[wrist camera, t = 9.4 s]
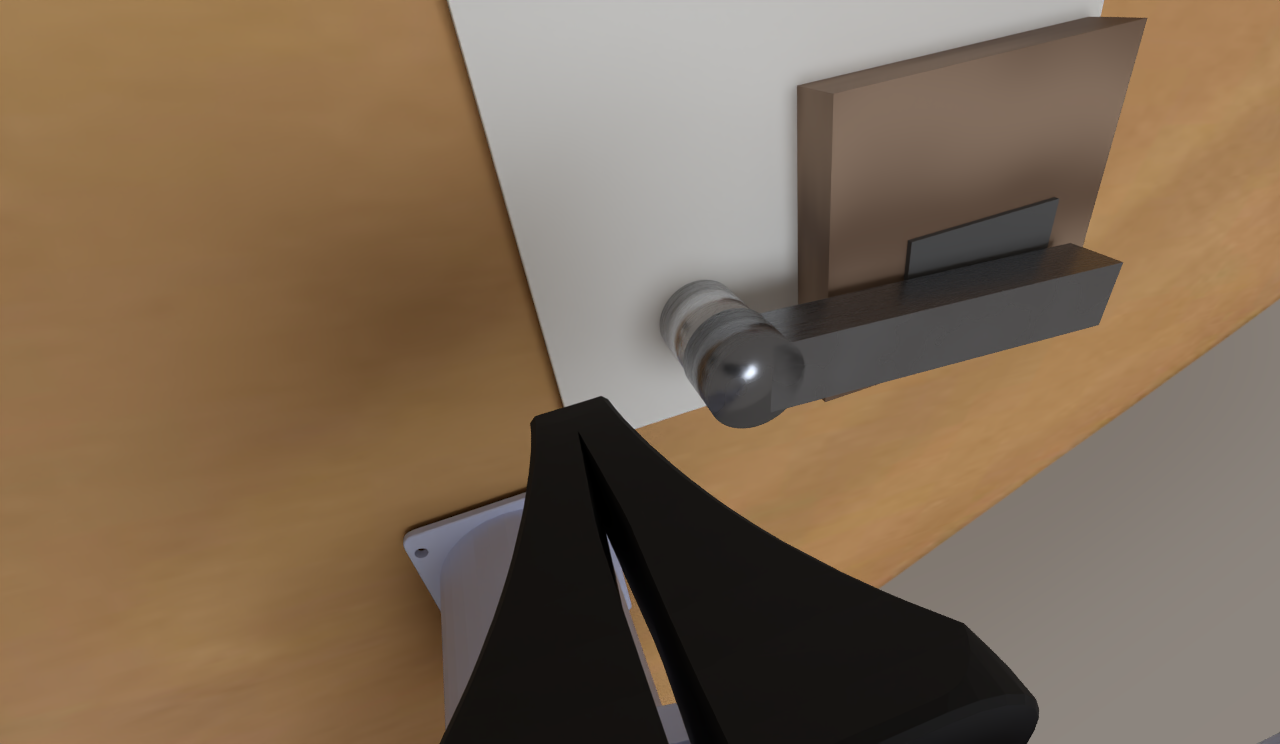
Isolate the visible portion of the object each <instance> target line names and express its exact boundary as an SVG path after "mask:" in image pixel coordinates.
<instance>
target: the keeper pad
mask: <svg viewBox="0 0 1280 744" xmlns="http://www.w3.org/2000/svg"><path fill="white" fill-rule="evenodd" d="M1058 203H1059V198H1056V197H1053V198H1050V199H1046V200H1043V201H1040V202H1036V203H1033V204H1029V205H1026V206H1023V207H1019V208H1016V209H1012V210H1009V211H1006V212H1002V213H999V214H996V215H992V216H989V217H985V218H982V219H979V220H975V221H972V222H968V223H965V224H962V225H958V226H955V227H951V228H948V229H945V230H941V231H938V232H935V233H931V234H928V235H924V236H921V237H918V238H914V239H911V240H908V245H907V254H906V263H905V273H904V281H905V280H909V279H913V278H918V277H922V276H927V275H931V274H935V273H940V272H944V271H949V270H953V269H957V268H962V267H966V266H971V265H975V264H979V263H984V262H988V261H993V260H997V259H1001V258H1006V257H1010V256H1015V255H1019V254H1023V253H1028V252H1032V251H1037V250H1041V249H1045V248H1047V247H1048V243H1049V239H1050V235H1051V231H1052V227H1053V223H1054V219H1055V215H1056V211H1057V207H1058Z"/></svg>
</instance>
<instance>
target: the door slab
mask: <svg viewBox="0 0 1280 744" xmlns="http://www.w3.org/2000/svg"><path fill="white" fill-rule="evenodd" d="M1146 21H1147V18H1126V17H1085V18H1081V19H1077V20H1072V21H1068V22H1064V23H1060V24H1056V25H1051V26H1047V27H1043V28H1039V29H1034V30H1030V31H1026V32H1022V33H1017V34H1013V35H1009V36H1005V37H1001V38H996V39H992V40H988V41H984V42H979V43H975V44H971V45H967V46H962V47H958V48H954V49H950V50H946V51H941V52H937V53H933V54H929V55H924V56H920V57H916V58H912V59H907V60H903V61H899V62H895V63H891V64H886V65H882V66H878V67H874V68H869V69H865V70H861V71H857V72H852V73H848V74H844V75H840V76H835V77H831V78H827V79H823V80H819V81H814V82H810V83H806V84H802V85H797V202H798V305H799V304H803V303H808V302H812V301H817V300H821V299H825V298H830V297H834V296H839V295H843V294H847V293H852V292H856V291H861V290H865V289H869V288H874V287H878V286H883V285H887V284H891V283H896V282H900V281H904V273H905V263H906V254H907V245H908V240H911V239H914V238H918V237H921V236H924V235H928V234H931V233H935V232H938V231H941V230H945V229H948V228H951V227H955V226H958V225H962V224H965V223H968V222H972V221H975V220H979V219H982V218H985V217H989V216H992V215H996V214H999V213H1002V212H1006V211H1009V210H1012V209H1016V208H1019V207H1023V206H1026V205H1029V204H1033V203H1036V202H1040V201H1043V200H1046V199H1050V198H1053V197H1056V198H1059V203H1058V207H1057V211H1056V215H1055V219H1054V223H1053V227H1052V231H1051V235H1050V239H1049V243H1048V247H1047V248H1050V247H1054V246H1059V245H1063V244H1067V243H1072V244H1075V245H1078V246H1080V247H1083V243H1084V240H1085V236H1086V233H1087V229H1088V226H1089V222H1090V219H1091V215H1092V212H1093V208H1094V205H1095V201H1096V198H1097V194H1098V190H1099V187H1100V183H1101V180H1102V176H1103V173H1104V169H1105V166H1106V162H1107V159H1108V155H1109V152H1110V148H1111V144H1112V141H1113V137H1114V134H1115V130H1116V127H1117V123H1118V120H1119V116H1120V113H1121V109H1122V106H1123V102H1124V99H1125V95H1126V91H1127V88H1128V84H1129V81H1130V77H1131V74H1132V70H1133V67H1134V63H1135V60H1136V56H1137V53H1138V49H1139V46H1140V42H1141V38H1142V35H1143V31H1144V28H1145V24H1146ZM879 384H880V383H879ZM875 385H877V384H875ZM872 386H874V385H872ZM868 387H871V386H868ZM868 387H864V388H860V389H857V390H853V391H849V392H845V393H842V394H838V395H834V396H830V397H827V398H823V400H824V401H825V402H827V401H830V400H833V399H836V398H839V397H841V396H844V395H847V394H850V393H853V392H856V391H859V390H862V389H865V388H868Z"/></svg>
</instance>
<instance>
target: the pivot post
mask: <svg viewBox="0 0 1280 744" xmlns="http://www.w3.org/2000/svg"><path fill="white" fill-rule="evenodd" d="M733 308H747V309H750V308H749V307H748V306H747V305H746V304H745V303H744V302H743V301H742V300H741V299H739V298H738V297H737V296H736V295H735V294H734V293H733V292H732V291H731V290H730V289H729V288H728V287H726V286H725V285H724V284H722V283H720V282H717V281H714V280H698V281H694V282H691V283H688V284H686V285H684V286H683V287H681V288H680V289H678V290H677V291H676V292H675V293H674V294H673V295H672V296H671V297H670V298H669V300H668V301H667V303H666V304H665V306H664V308H663V310H662V313H661V317H660V332H661V336H662V338H663V340H664V342H665V343H666V345H667V346H668V348H669V349H670V350H671V352H672V353H673V354H674V356H675V357H676V359H677V360H678V361H679V363H680V364H681V366H682V367H683V368H684V366H683V357H684V352H685V348H686V346H687V343H688V341H689V339H690V338H691V336H692V334H693V333H694V332H695V330H696V329H697V328H698V327H699V326H700V325H701V324H702V323H703V322H704V321H706V320H707V319H708V318H710V317H711V316H713V315H715V314H717V313H719V312H721V311H724V310H728V309H733Z"/></svg>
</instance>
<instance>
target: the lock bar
mask: <svg viewBox="0 0 1280 744" xmlns="http://www.w3.org/2000/svg"><path fill="white" fill-rule="evenodd" d="M1122 264H1123V262H1121V261H1118V260H1115V259H1113V258H1110V257H1107V256H1105V255H1102V254H1099V253H1097V252H1094V251H1091V250H1088V249H1086V248H1083V247H1080V246H1078V245H1075V244H1072V243H1067V244H1063V245H1059V246H1054V247H1050V248H1045V249H1041V250H1037V251H1032V252H1028V253H1023V254H1019V255H1015V256H1010V257H1006V258H1001V259H997V260H993V261H988V262H984V263H979V264H975V265H971V266H966V267H962V268H957V269H953V270H949V271H944V272H940V273H935V274H931V275H927V276H922V277H918V278H913V279H909V280H905V281H900V282H896V283H891V284H887V285H883V286H878V287H874V288H869V289H865V290H861V291H856V292H852V293H847V294H843V295H839V296H834V297H830V298H825V299H821V300H817V301H812V302H808V303H803V304H799V305H795V306H790V307H786V308H781V309H777V310H772V311H768V312H764V313H758V312H756V311H754V310H751V309H747V308H733V309H728V310H724V311H721V312H719V313H717V314H715V315H713V316H711V317H710V318H708V319H707V320H706V321H704V322H703V323H702V324H701V325H700V326H699V327H698V328H697V329H696V330H695V332H694V333H693V334H692V336H691V338H690V339H689V341H688V343H687V346H686V348H685V352H684V357H683V366H684V371H685V375H686V377H687V379H688V380H689V382H690V383H691V384H692V386H693V387H694V389H695V390H696V392H697V393H698V394H699V396H700V397H701V399H702V400H703V401H704V403H705V404H706V406H707V407H708V408H709V410H710V411H711V413H712V414H713V415H714V417H715V418H716V419H717V420H718V421H720V422H721V423H722V424H724V425H726V426H729V427H733V428H751V427H755V426H759V425H762V424H764V423H766V422H768V421H770V420H772V419H774V418H775V417H777V416H778V415H779V414H781V413H782V412H783V411H784V410H785V409H786V408H789V407H793V406H797V405H800V404H804V403H808V402H812V401H815V400H819V399H823V398H827V397H830V396H834V395H838V394H842V393H845V392H849V391H853V390H857V389H860V388H864V387H868V386H872V385H875V384H879V383H883V382H887V381H890V380H894V379H898V378H902V377H905V376H909V375H913V374H917V373H920V372H924V371H928V370H932V369H935V368H939V367H943V366H947V365H950V364H954V363H958V362H962V361H965V360H969V359H973V358H976V357H980V356H984V355H988V354H991V353H995V352H999V351H1003V350H1006V349H1010V348H1014V347H1018V346H1021V345H1025V344H1029V343H1033V342H1036V341H1040V340H1044V339H1048V338H1051V337H1055V336H1059V335H1063V334H1066V333H1070V332H1074V331H1078V330H1081V329H1085V328H1089V327H1093V326H1096V325H1099V323H1100V320H1101V318H1102V315H1103V312H1104V310H1105V307H1106V305H1107V302H1108V300H1109V297H1110V295H1111V292H1112V289H1113V287H1114V284H1115V282H1116V279H1117V277H1118V274H1119V271H1120V269H1121V266H1122Z"/></svg>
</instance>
